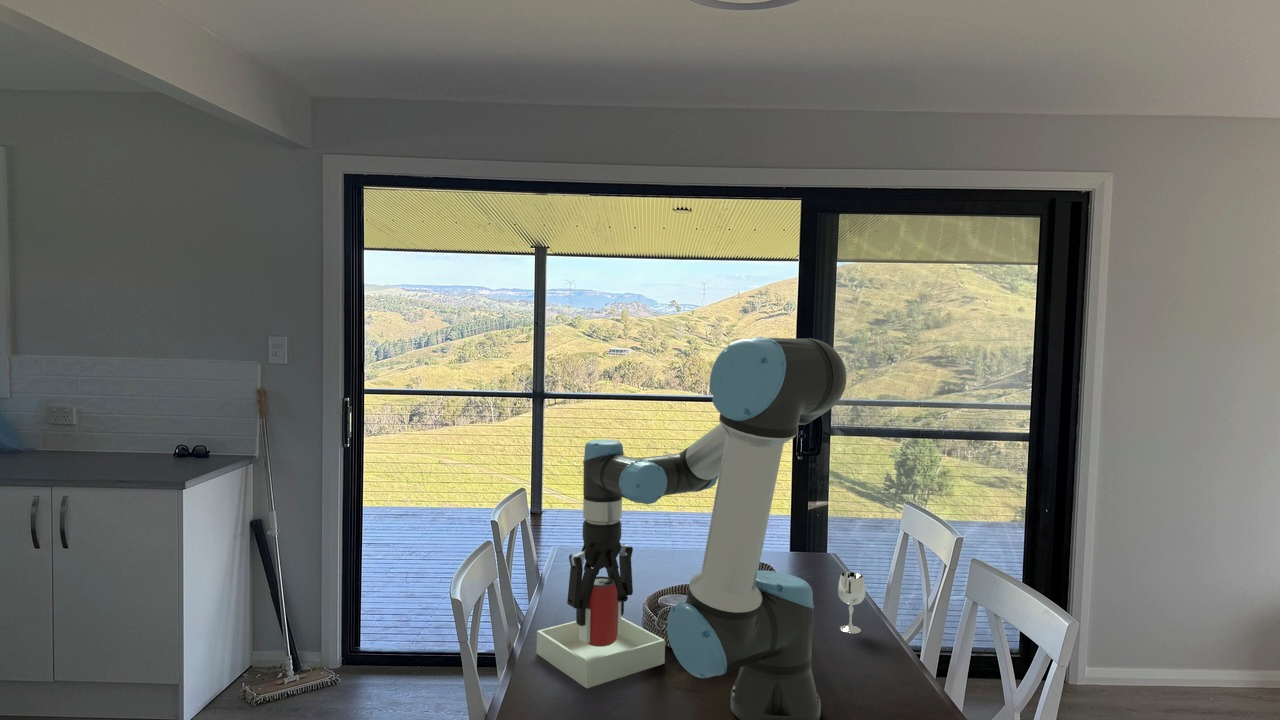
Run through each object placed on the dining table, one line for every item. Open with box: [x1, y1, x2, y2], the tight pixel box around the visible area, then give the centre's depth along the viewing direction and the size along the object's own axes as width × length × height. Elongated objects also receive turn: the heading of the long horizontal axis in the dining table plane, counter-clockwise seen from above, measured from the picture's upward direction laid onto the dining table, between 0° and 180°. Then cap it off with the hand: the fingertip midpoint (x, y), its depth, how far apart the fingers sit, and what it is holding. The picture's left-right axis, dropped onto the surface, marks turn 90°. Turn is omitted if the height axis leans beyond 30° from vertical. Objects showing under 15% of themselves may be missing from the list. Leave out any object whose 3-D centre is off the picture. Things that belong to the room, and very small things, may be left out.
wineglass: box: [837, 571, 866, 635], centre depth 168 cm, size 6×6×12 cm
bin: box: [536, 616, 666, 689], centre depth 151 cm, size 18×18×5 cm
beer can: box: [587, 575, 618, 647], centre depth 151 cm, size 7×7×12 cm
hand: (600, 636), depth 151 cm, fingers closed on beer can, 6 cm apart
